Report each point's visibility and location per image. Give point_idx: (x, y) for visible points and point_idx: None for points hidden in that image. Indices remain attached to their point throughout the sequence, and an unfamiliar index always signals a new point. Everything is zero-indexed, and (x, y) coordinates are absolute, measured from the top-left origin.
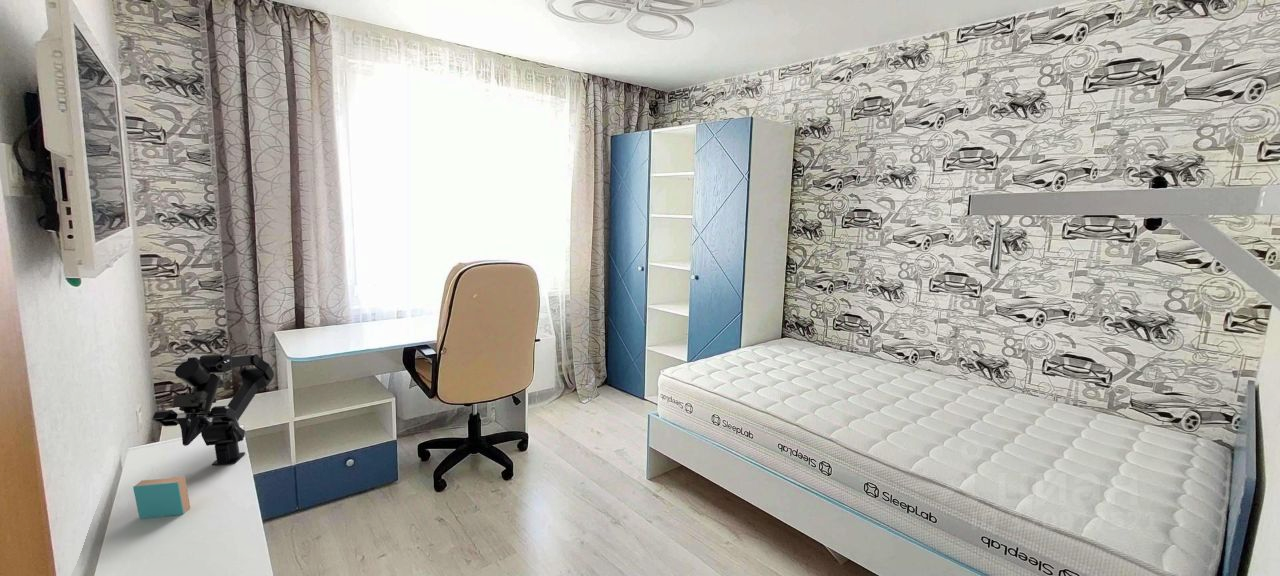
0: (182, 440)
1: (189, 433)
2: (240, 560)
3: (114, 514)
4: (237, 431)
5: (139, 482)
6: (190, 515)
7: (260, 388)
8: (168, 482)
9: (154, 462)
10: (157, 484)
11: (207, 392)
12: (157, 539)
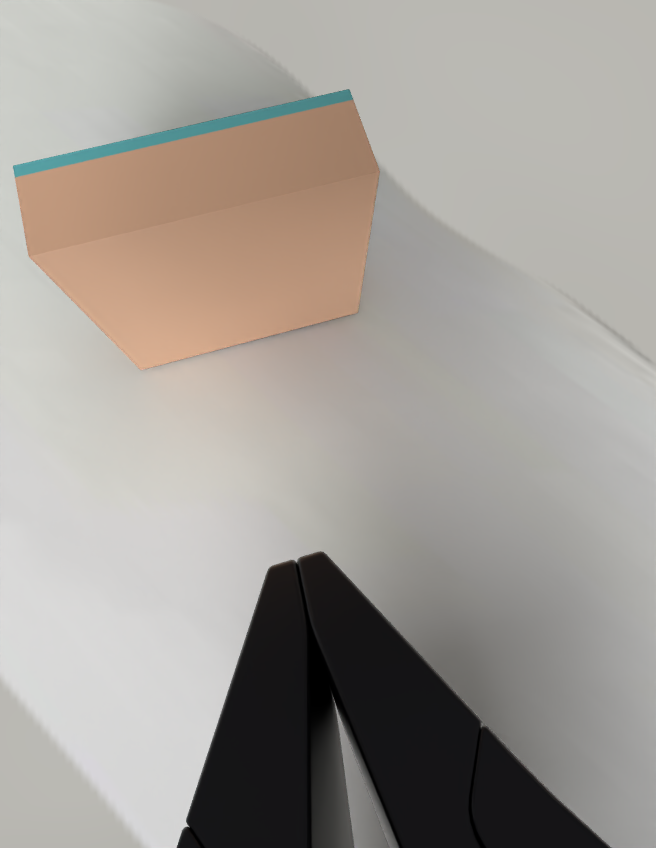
0: (355, 591)
1: (250, 757)
2: None
3: (528, 283)
4: None
5: (367, 146)
6: (81, 310)
7: None
8: (99, 163)
9: None
10: (169, 130)
11: None
12: (80, 133)
